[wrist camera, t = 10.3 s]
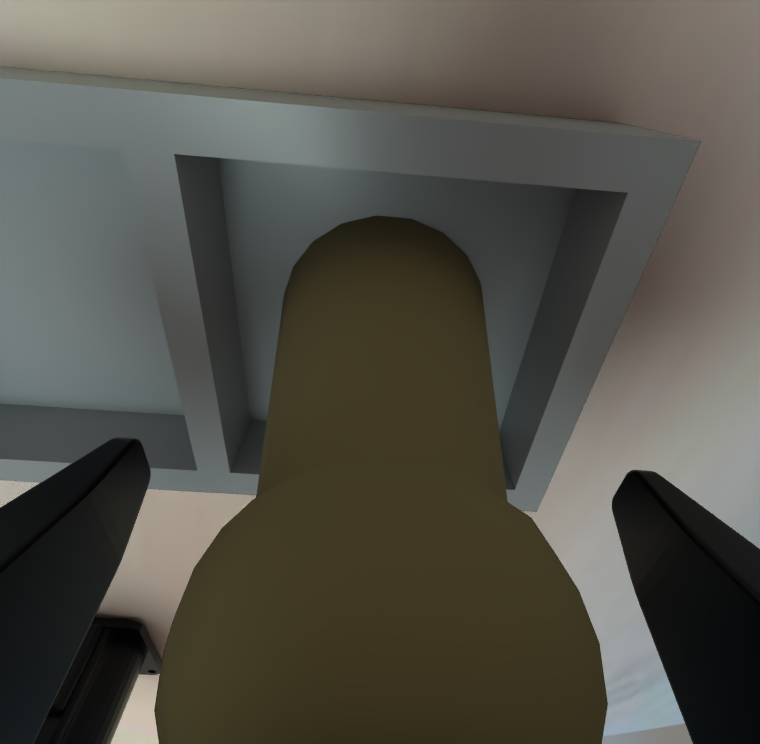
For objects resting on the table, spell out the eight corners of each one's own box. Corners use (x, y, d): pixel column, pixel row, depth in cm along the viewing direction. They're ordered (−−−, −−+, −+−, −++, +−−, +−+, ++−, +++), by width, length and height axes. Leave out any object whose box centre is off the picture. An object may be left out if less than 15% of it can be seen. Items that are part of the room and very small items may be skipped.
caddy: (511, 438, 17) (536, 511, 14) (-31, 403, 17) (-118, 473, 14) (619, 122, 11) (701, 141, 8) (-244, 44, 10) (-486, 34, 7)
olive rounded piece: (251, 343, 14) (-3, 866, 5) (345, 167, 11) (145, 664, 2) (409, 421, 16) (443, 907, 7) (527, 288, 13) (884, 841, 4)
